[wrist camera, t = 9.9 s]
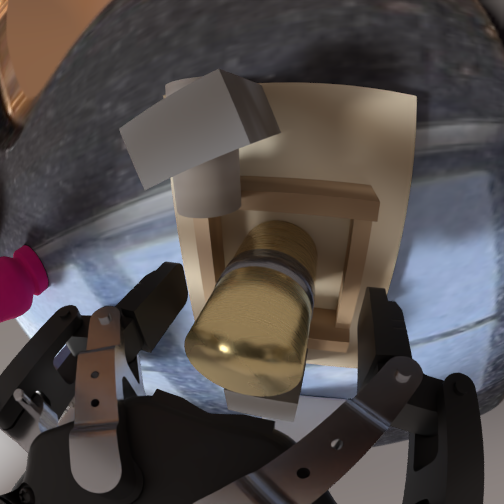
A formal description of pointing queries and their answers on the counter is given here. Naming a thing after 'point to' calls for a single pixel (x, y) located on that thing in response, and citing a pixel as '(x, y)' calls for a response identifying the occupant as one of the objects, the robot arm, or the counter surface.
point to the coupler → (259, 314)
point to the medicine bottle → (307, 416)
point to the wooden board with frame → (284, 190)
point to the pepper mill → (20, 282)
